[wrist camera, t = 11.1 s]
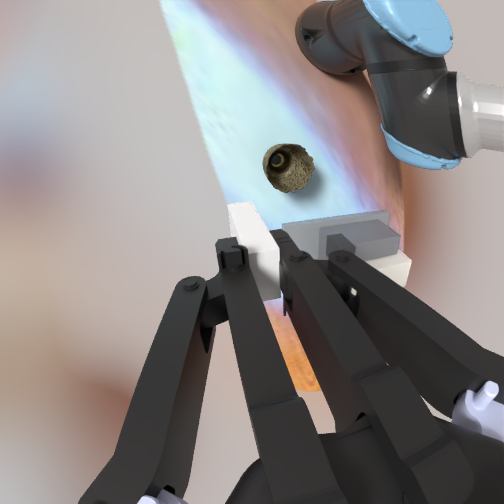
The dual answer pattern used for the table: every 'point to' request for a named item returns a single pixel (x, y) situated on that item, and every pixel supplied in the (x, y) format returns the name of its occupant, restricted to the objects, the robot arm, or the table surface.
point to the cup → (288, 167)
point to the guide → (346, 235)
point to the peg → (392, 267)
